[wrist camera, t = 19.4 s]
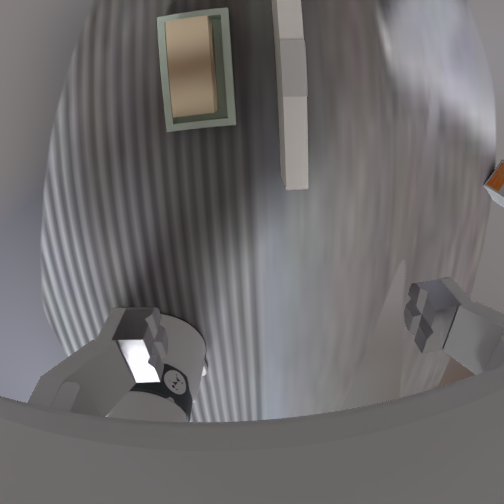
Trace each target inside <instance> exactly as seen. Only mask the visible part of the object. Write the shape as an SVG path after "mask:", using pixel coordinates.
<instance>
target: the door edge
mask: <svg viewBox="0 0 504 504" xmlns="http://www.w3.org/2000/svg"><path fill="white" fill-rule="evenodd" d="M271 1H272V14H273V28H274V43H275V59H276V76H277V95H278V115H279V139H280V166H281V179H282V181H283V184H284V186H285V188H286V190H295V189H308V123H307V97H308V89H307V67H306V49H305V40H304V35H303V21H302V8H301V0H271Z"/></svg>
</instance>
